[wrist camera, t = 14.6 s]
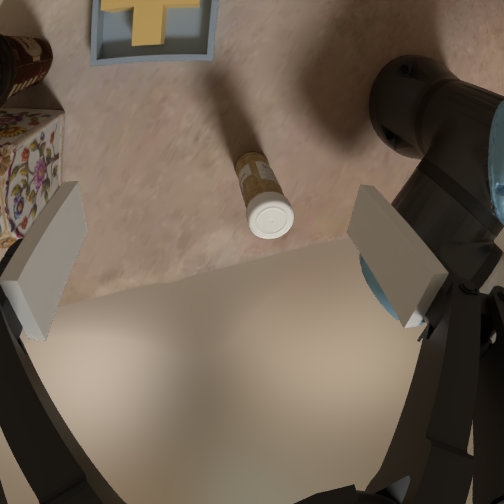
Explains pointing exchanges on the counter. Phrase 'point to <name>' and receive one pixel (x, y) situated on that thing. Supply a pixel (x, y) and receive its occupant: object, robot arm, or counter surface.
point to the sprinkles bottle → (263, 197)
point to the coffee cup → (22, 64)
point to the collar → (147, 17)
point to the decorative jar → (28, 167)
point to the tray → (175, 48)
